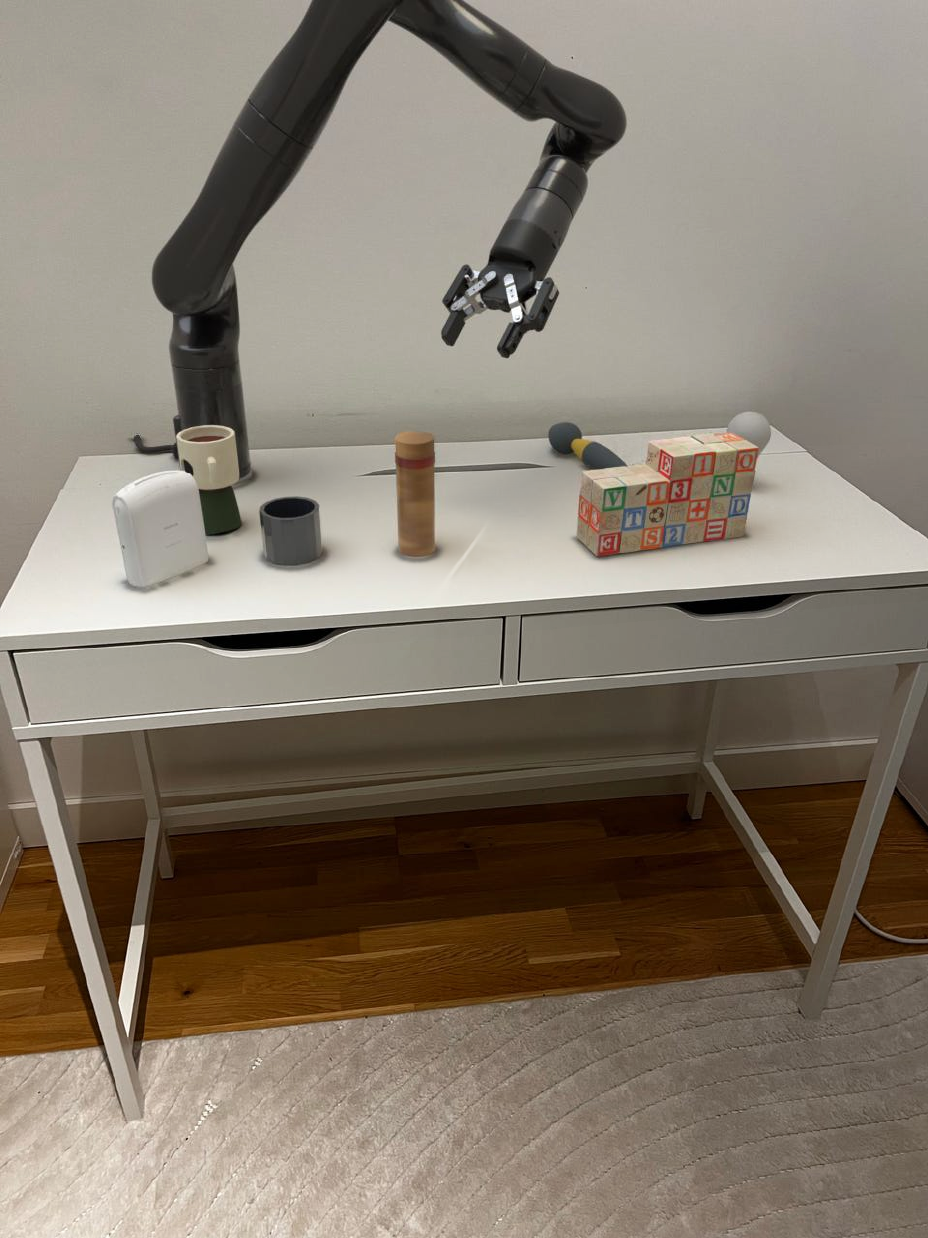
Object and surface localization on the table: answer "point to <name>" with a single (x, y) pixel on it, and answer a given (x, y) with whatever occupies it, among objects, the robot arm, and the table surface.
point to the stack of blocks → (669, 495)
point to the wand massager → (582, 447)
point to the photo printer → (160, 527)
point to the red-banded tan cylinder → (415, 493)
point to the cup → (291, 530)
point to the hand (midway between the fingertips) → (473, 348)
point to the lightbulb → (751, 429)
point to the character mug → (212, 473)
